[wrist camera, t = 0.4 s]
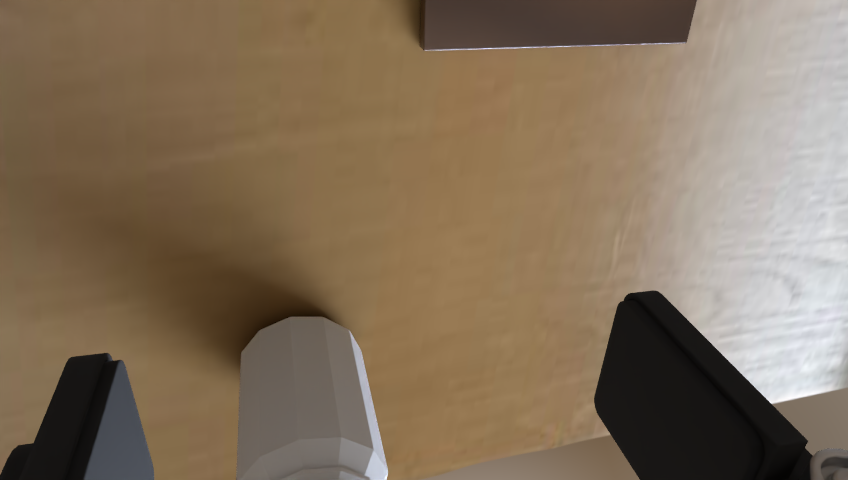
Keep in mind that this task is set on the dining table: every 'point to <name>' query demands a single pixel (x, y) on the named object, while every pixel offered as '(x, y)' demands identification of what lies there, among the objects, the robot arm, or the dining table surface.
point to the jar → (306, 406)
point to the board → (552, 23)
